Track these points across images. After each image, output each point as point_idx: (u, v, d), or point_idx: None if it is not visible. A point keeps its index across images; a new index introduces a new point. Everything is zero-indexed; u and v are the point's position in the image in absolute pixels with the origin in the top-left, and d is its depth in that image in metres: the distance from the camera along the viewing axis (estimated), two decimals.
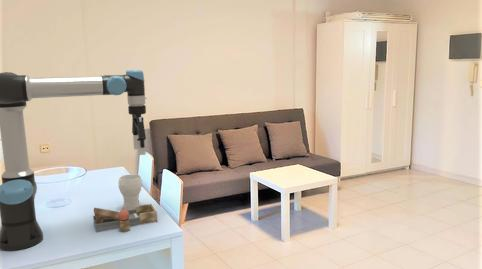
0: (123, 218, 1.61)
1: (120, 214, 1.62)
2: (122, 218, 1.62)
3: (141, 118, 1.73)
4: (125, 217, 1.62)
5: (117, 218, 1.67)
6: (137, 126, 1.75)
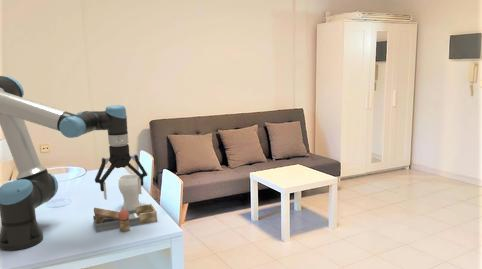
0: (123, 218, 1.61)
1: (120, 214, 1.62)
2: (122, 218, 1.62)
3: (102, 159, 1.56)
4: (125, 217, 1.62)
5: (117, 218, 1.67)
6: (109, 167, 1.59)
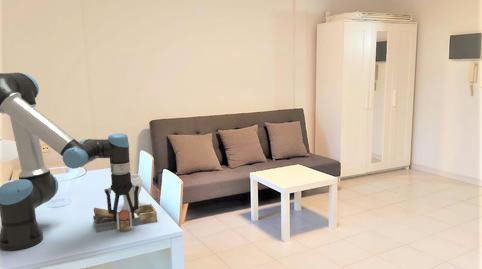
0: (123, 218, 1.61)
1: (120, 214, 1.62)
2: (122, 218, 1.62)
3: (105, 191, 1.58)
4: (125, 217, 1.62)
5: None
6: (115, 196, 1.62)
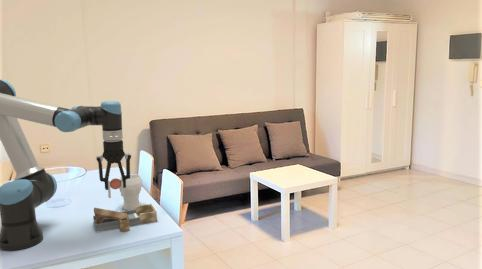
0: (114, 186, 1.60)
1: (112, 182, 1.60)
2: (113, 186, 1.60)
3: None
4: (117, 186, 1.61)
5: (117, 218, 1.67)
6: (107, 164, 1.61)
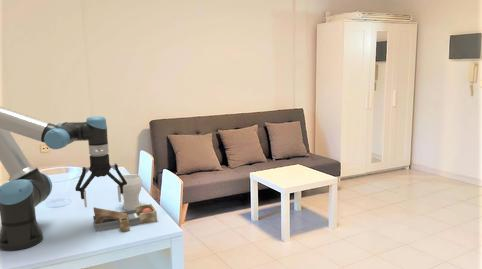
0: None
1: None
2: None
3: (82, 168, 1.62)
4: None
5: (117, 218, 1.67)
6: (89, 176, 1.65)
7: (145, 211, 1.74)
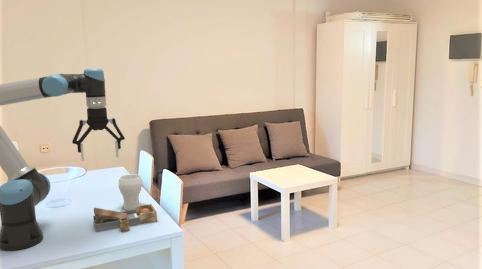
0: None
1: None
2: (145, 212, 1.74)
3: (79, 121, 1.60)
4: None
5: (117, 218, 1.67)
6: (87, 129, 1.63)
7: (142, 212, 1.74)
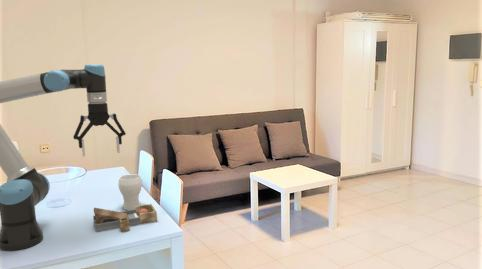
0: None
1: (146, 211, 1.75)
2: None
3: (80, 116, 1.60)
4: None
5: (117, 218, 1.67)
6: (88, 125, 1.63)
7: None
